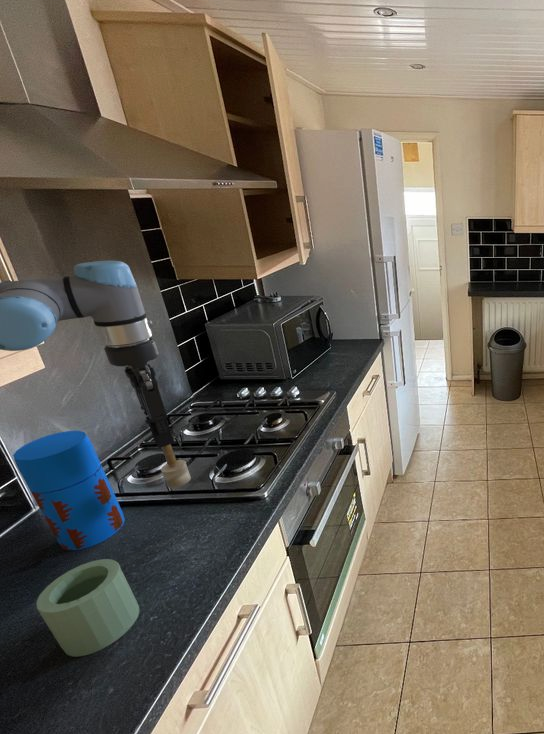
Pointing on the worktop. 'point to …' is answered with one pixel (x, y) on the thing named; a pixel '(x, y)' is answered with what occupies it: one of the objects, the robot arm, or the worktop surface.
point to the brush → (174, 469)
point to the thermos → (70, 488)
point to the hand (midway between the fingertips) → (164, 442)
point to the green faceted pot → (89, 607)
